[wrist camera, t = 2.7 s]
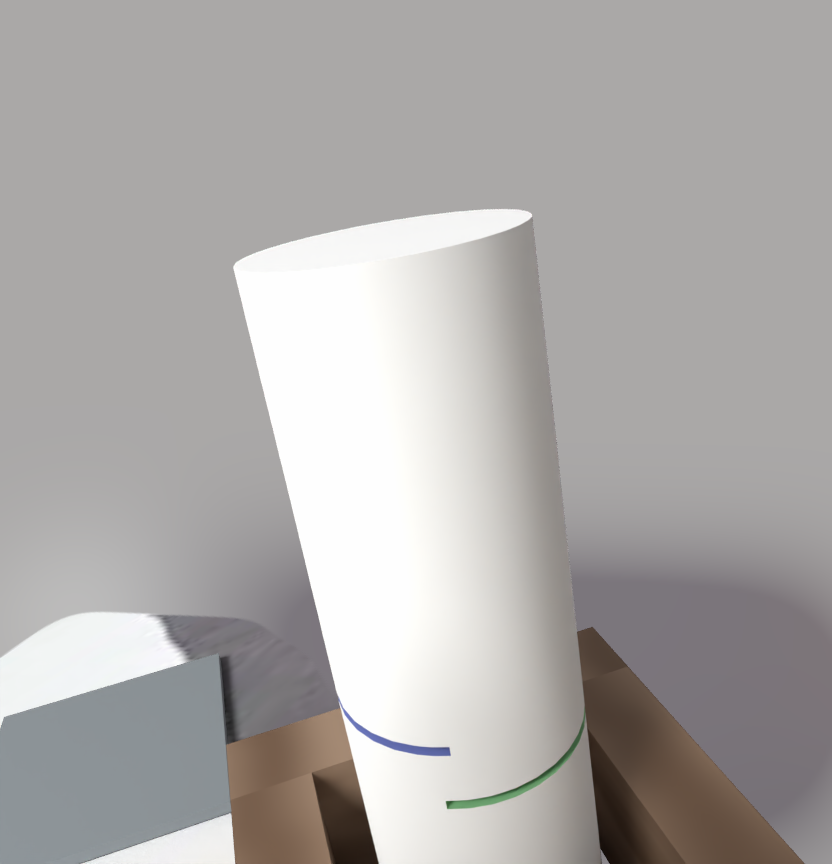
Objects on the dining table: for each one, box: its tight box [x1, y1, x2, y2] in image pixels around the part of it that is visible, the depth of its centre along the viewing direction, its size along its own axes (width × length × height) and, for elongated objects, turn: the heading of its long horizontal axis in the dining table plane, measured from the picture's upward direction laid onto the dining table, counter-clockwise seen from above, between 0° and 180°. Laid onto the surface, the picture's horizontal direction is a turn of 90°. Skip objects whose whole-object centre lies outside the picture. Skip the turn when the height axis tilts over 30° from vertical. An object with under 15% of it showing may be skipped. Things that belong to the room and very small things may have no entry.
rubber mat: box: [0, 653, 231, 864], centre depth 40 cm, size 12×12×1 cm
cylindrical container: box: [233, 209, 602, 864], centre depth 23 cm, size 7×7×25 cm
